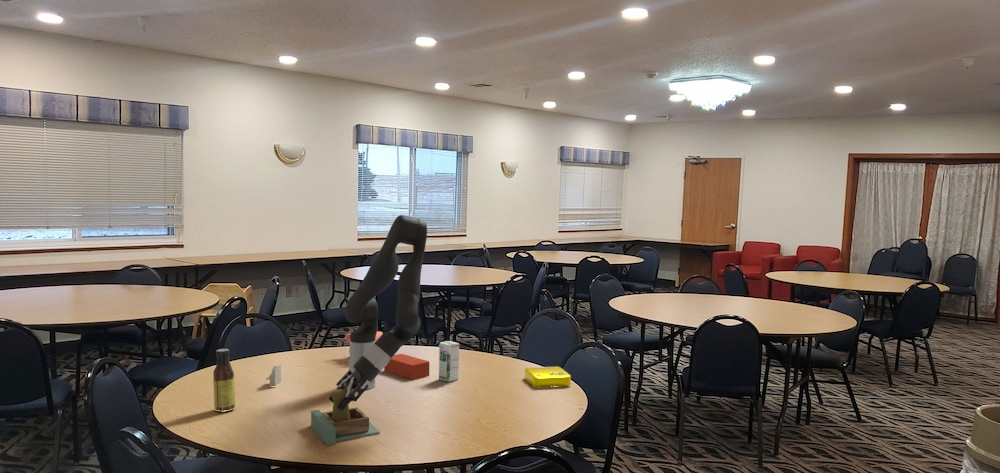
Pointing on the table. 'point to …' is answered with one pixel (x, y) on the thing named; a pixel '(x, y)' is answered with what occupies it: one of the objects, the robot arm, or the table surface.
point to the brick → (407, 367)
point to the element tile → (547, 377)
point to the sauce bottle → (223, 382)
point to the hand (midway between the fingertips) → (334, 404)
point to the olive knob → (336, 413)
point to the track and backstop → (334, 429)
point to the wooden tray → (350, 422)
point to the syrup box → (448, 361)
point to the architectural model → (275, 376)
